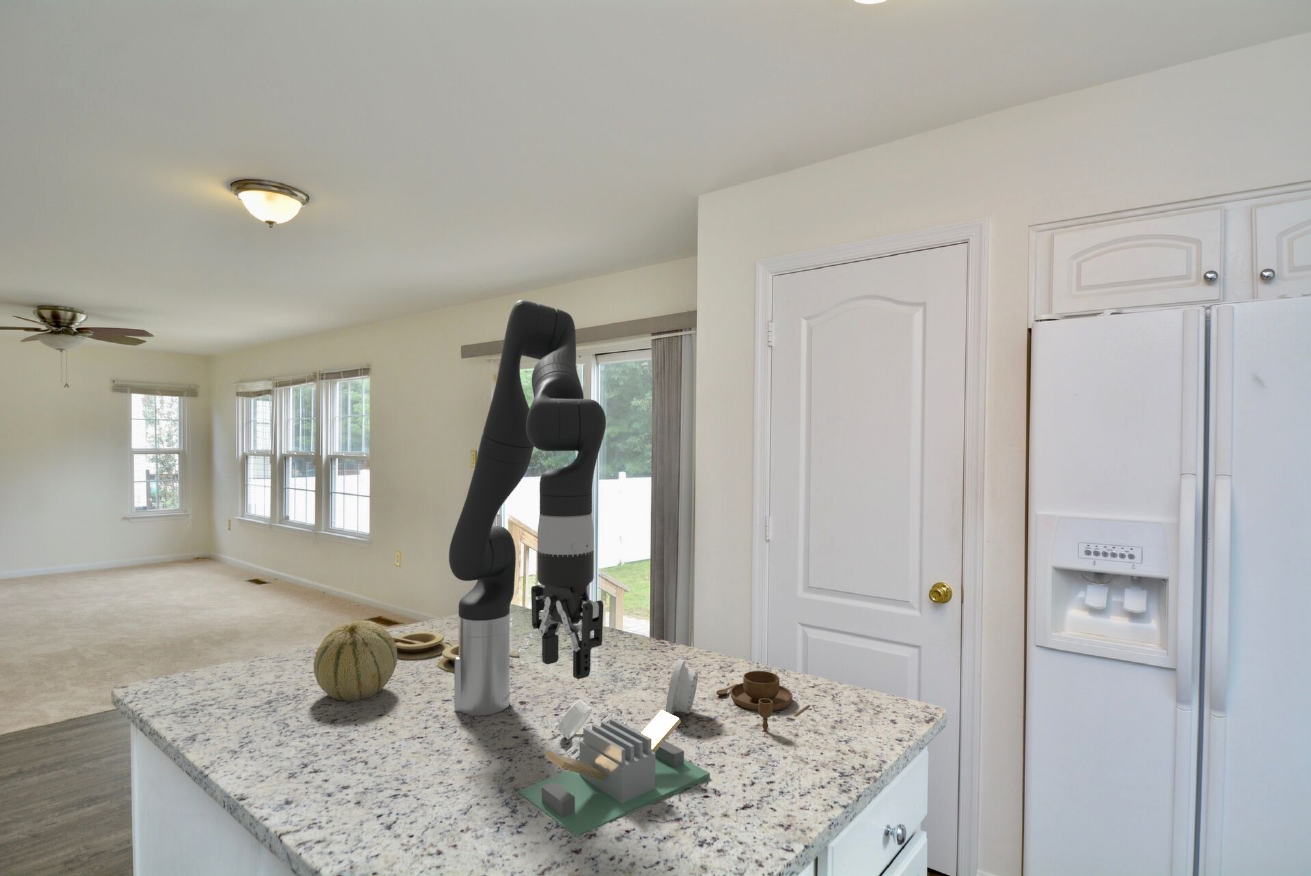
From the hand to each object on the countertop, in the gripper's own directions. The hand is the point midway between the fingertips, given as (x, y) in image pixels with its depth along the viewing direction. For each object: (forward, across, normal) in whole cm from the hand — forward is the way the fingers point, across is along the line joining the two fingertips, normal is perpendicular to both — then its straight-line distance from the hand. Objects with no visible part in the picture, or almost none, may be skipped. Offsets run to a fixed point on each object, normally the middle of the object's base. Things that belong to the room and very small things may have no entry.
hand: (565, 669), depth 93 cm
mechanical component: (+20, +14, -34) cm, 42 cm away
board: (+20, 0, -9) cm, 22 cm away
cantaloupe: (+20, +60, +8) cm, 63 cm away
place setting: (+21, +7, -47) cm, 52 cm away
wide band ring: (+20, +18, -13) cm, 30 cm away
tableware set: (+21, +72, -15) cm, 76 cm away
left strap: (+16, 0, -6) cm, 17 cm away
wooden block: (+16, 0, -12) cm, 20 cm away
